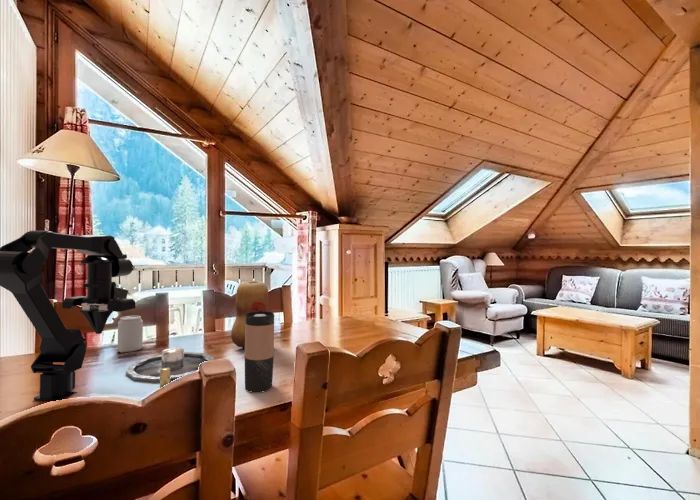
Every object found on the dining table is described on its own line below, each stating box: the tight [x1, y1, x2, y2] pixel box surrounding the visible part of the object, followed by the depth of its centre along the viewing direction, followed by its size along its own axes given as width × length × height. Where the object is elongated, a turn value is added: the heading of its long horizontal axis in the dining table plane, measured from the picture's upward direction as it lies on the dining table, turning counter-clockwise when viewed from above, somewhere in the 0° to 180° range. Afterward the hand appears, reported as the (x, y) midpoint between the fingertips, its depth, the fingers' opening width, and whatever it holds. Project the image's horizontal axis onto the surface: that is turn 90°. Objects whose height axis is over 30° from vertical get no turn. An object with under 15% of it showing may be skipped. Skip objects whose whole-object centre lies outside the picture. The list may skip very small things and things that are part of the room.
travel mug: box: [244, 310, 275, 393], centre depth 95 cm, size 8×8×20 cm
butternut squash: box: [230, 279, 269, 349], centre depth 130 cm, size 14×13×25 cm
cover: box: [161, 347, 185, 370], centre depth 106 cm, size 6×6×5 cm
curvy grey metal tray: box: [125, 351, 215, 389], centre depth 104 cm, size 28×23×5 cm
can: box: [117, 315, 144, 354], centre depth 123 cm, size 8×8×12 cm
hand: (99, 333), depth 100 cm, fingers closed
